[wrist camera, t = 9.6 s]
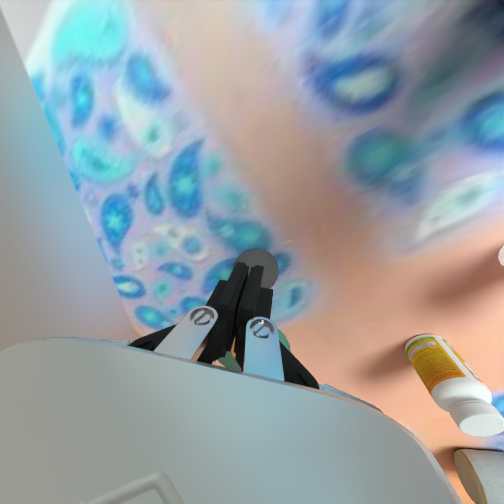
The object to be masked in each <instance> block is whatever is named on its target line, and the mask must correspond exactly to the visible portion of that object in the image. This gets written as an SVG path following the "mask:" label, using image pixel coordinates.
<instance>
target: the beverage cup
mask: <svg viewBox="0 0 504 504" xmlns="http://www.w3.org/2000/svg"><path fill="white" fill-rule="evenodd" d="M498 259H499V261H500V264H502V265H503V266H504V245H503V247H502V248H501V249H500V251H499V256H498Z"/></svg>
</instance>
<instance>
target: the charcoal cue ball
mask: <svg viewBox="0 0 504 504" xmlns="http://www.w3.org/2000/svg"><path fill="white" fill-rule="evenodd" d="M237 262H243V263H246V266H249V272H248V276H249V273H250V270H251V267H255V265H260V266H264V271H263V278H262V284H261V287H263V288H268V289H270V288H271V287H272V286H273V285H274V283H275V281H276V279H277V277H278V265H277V262H276V260H275V259H274V257H273V256H272V255H271V254H270V253H269V252H267V251H265V250H262V249H257V248H254V249H249V250H247V251H245V252H243V253H242V254H241V255H240V256H239V257H238V258H237V260H236V262H235V265H236V263H237ZM235 265H234V267H235Z"/></svg>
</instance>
